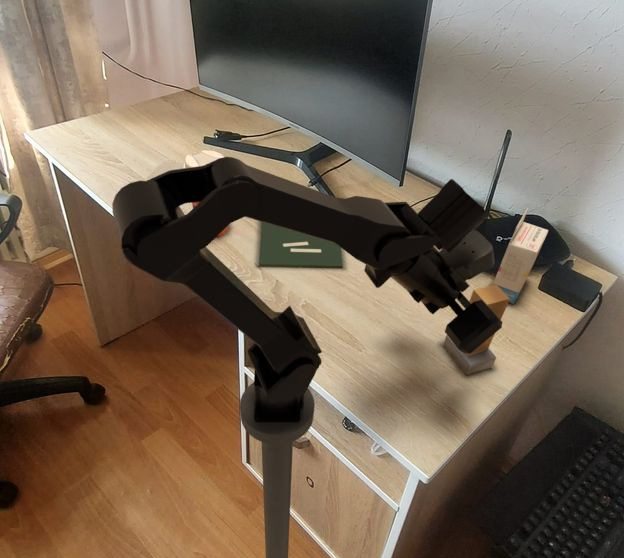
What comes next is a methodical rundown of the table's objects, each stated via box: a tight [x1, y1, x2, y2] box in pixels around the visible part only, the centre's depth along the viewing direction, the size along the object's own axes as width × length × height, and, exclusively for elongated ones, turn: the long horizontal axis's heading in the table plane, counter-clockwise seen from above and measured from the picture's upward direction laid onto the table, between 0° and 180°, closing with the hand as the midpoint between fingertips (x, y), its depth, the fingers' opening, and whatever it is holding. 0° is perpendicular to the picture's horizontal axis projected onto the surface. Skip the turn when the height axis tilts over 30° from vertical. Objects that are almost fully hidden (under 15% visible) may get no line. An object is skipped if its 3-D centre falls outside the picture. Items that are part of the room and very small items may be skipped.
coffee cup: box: [183, 149, 228, 237], centre depth 101 cm, size 8×8×15 cm
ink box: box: [492, 207, 549, 305], centre depth 93 cm, size 8×5×15 cm, turn 150°
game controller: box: [146, 160, 185, 181], centre depth 116 cm, size 14×4×10 cm
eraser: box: [442, 284, 510, 376], centre depth 81 cm, size 5×7×14 cm
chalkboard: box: [258, 222, 344, 269], centre depth 108 cm, size 24×16×1 cm, turn 2°
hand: (468, 314), depth 77 cm, fingers open, 9 cm apart
